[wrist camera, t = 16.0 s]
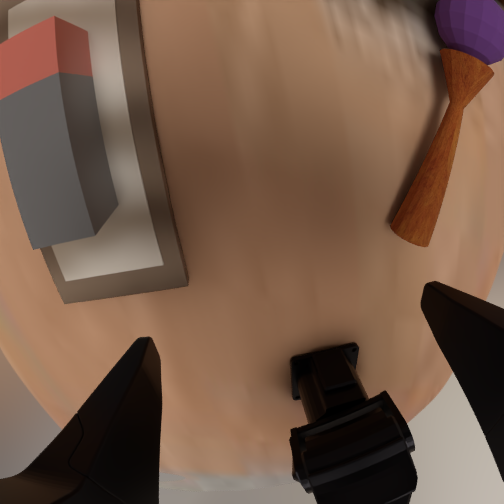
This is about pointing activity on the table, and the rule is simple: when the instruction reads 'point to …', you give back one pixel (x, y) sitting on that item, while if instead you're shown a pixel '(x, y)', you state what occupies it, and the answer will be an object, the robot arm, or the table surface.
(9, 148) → the red and gray block
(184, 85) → the table surface
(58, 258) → the board
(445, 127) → the purple maraca
